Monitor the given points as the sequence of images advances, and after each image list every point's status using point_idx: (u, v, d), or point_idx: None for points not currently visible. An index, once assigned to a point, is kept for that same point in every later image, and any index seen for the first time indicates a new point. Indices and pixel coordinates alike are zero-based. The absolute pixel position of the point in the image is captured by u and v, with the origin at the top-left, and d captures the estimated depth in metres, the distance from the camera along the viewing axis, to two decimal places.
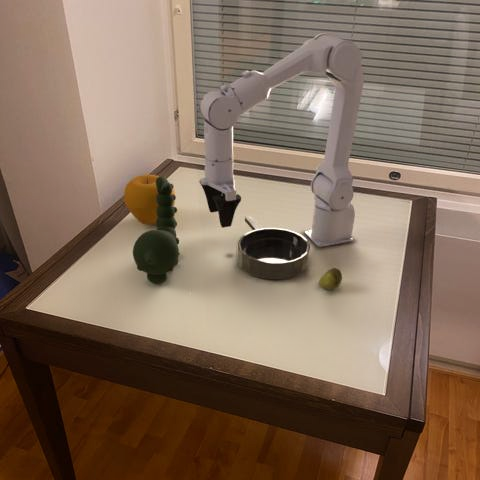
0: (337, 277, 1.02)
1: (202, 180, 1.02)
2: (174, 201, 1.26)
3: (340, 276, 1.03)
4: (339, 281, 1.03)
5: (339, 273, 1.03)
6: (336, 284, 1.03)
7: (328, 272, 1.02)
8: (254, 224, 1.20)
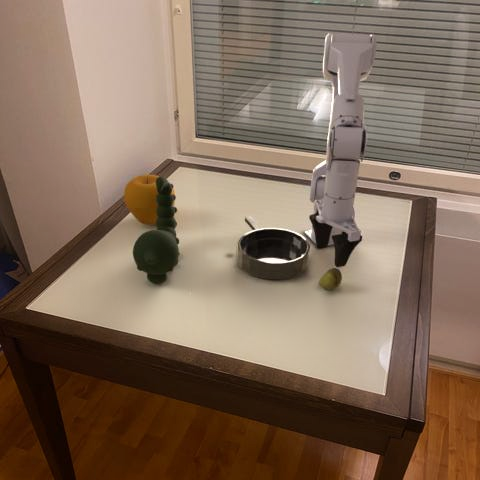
0: (337, 277, 1.02)
1: (319, 217, 0.95)
2: (174, 201, 1.26)
3: (340, 276, 1.03)
4: (339, 281, 1.03)
5: (339, 273, 1.03)
6: (336, 284, 1.03)
7: (328, 272, 1.02)
8: (254, 224, 1.20)
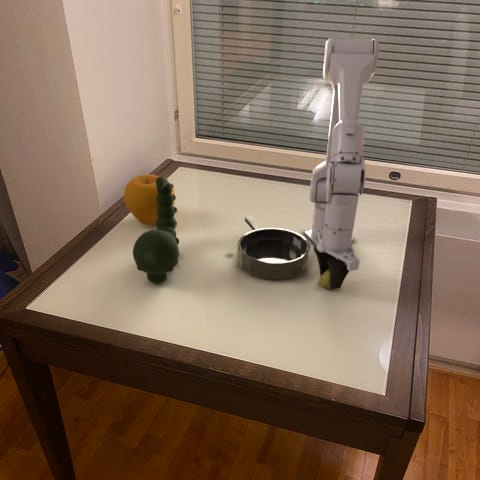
0: None
1: (319, 247, 0.98)
2: (174, 201, 1.26)
3: None
4: None
5: None
6: None
7: (327, 271, 1.02)
8: (254, 224, 1.20)
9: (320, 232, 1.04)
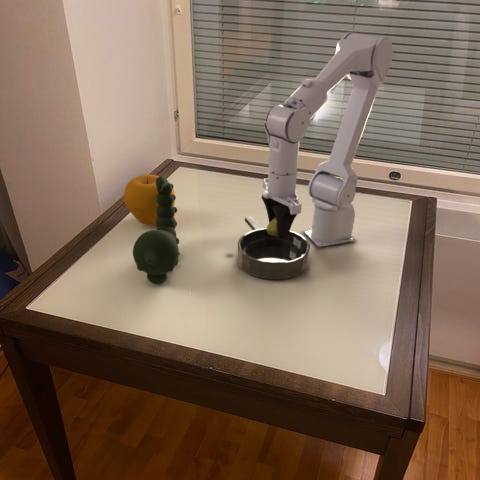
0: None
1: (265, 193, 1.02)
2: (174, 201, 1.26)
3: None
4: None
5: None
6: None
7: (274, 219, 1.06)
8: (254, 224, 1.20)
9: None
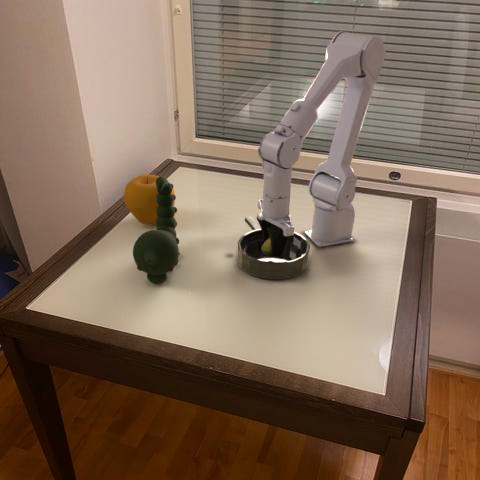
0: None
1: (259, 215, 1.06)
2: (174, 201, 1.26)
3: None
4: None
5: None
6: None
7: (269, 239, 1.10)
8: (254, 224, 1.20)
9: (263, 203, 1.11)
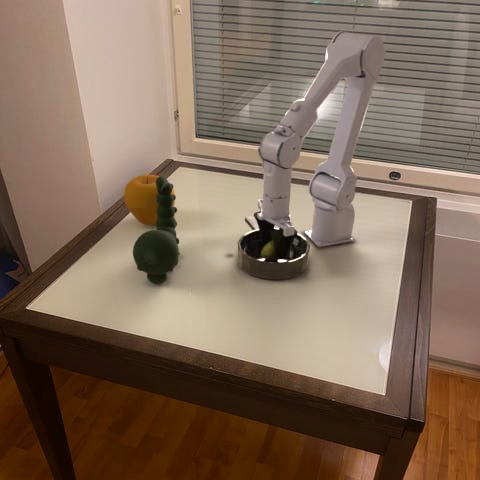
0: None
1: (259, 215, 1.06)
2: (174, 201, 1.26)
3: None
4: None
5: None
6: None
7: (268, 243, 1.10)
8: (254, 224, 1.20)
9: (263, 203, 1.11)
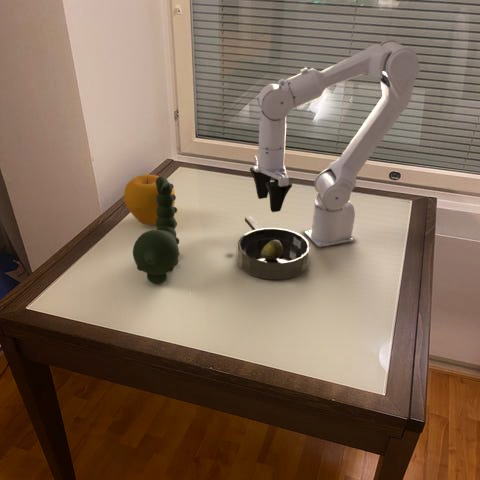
0: (277, 249, 1.11)
1: (255, 167, 1.10)
2: (174, 201, 1.26)
3: (280, 247, 1.11)
4: (279, 252, 1.11)
5: (279, 245, 1.11)
6: (276, 255, 1.11)
7: (268, 243, 1.10)
8: (254, 224, 1.20)
9: None
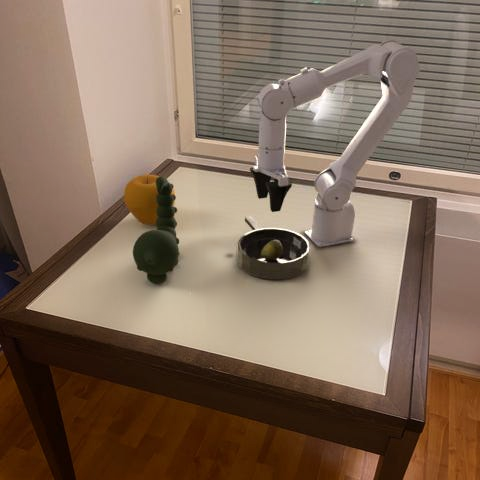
0: (277, 249, 1.11)
1: (255, 167, 1.10)
2: (174, 201, 1.26)
3: (280, 247, 1.11)
4: (279, 252, 1.11)
5: (279, 245, 1.11)
6: (276, 255, 1.11)
7: (268, 243, 1.10)
8: (254, 224, 1.20)
9: None
